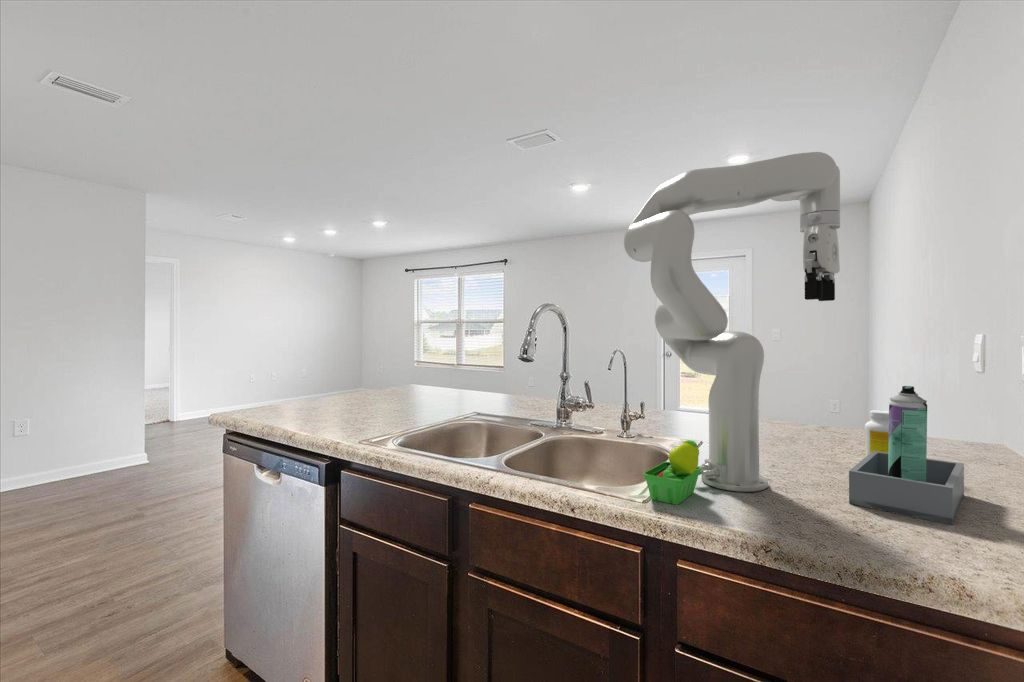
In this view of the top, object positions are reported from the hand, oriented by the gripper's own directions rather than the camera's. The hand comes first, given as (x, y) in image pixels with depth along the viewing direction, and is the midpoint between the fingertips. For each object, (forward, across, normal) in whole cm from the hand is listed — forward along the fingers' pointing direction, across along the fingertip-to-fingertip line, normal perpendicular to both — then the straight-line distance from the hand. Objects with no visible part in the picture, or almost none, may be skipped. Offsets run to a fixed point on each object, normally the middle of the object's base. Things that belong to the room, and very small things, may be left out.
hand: (820, 300), depth 108 cm
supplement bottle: (+38, +12, -9) cm, 41 cm away
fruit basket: (+39, -38, +15) cm, 56 cm away
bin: (+38, -10, -16) cm, 43 cm away
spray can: (+38, -10, -16) cm, 42 cm away
